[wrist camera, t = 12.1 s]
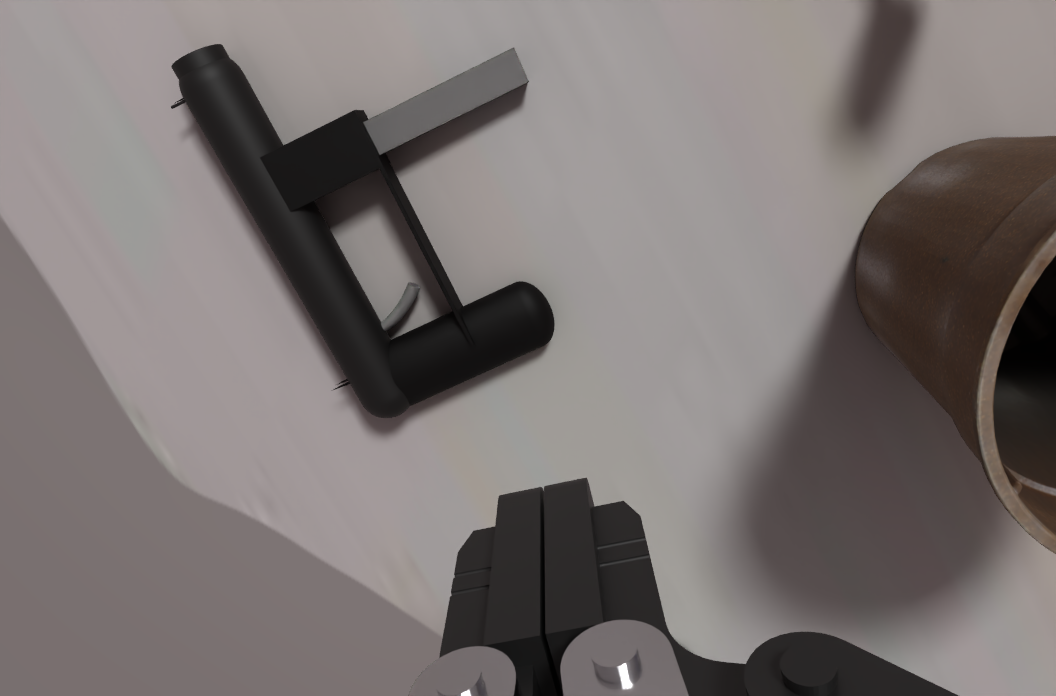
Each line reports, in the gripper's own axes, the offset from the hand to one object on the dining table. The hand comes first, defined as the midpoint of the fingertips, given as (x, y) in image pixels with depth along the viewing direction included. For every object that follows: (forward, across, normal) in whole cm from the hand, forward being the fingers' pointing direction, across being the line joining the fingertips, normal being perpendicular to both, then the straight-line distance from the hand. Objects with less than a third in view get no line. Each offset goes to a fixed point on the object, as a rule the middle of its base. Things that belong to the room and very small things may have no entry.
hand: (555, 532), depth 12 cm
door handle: (+28, +6, -3) cm, 29 cm away
